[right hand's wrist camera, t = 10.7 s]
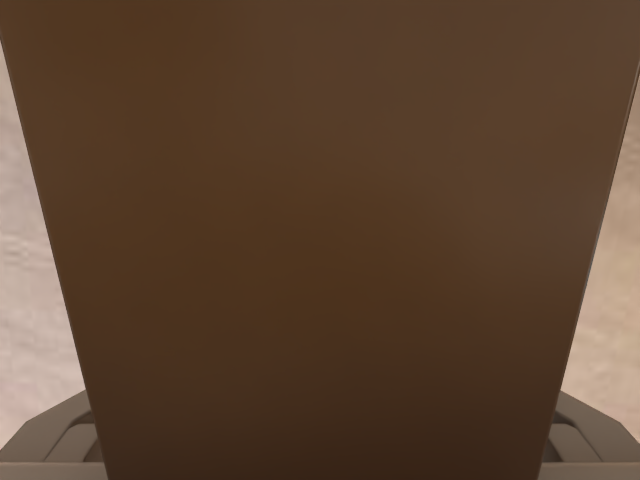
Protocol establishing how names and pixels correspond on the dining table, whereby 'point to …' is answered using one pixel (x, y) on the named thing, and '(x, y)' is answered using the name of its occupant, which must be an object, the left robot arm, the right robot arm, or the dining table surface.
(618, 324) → the dining table surface
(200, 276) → the bar
